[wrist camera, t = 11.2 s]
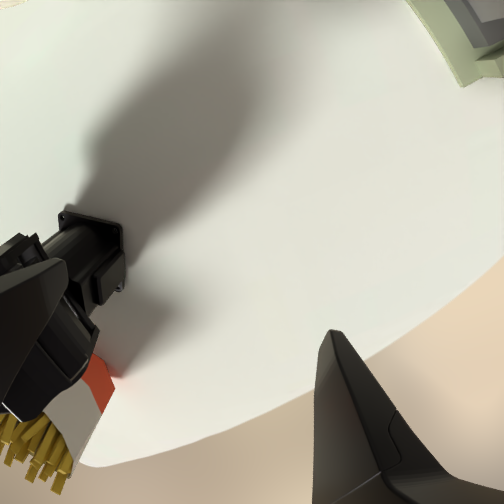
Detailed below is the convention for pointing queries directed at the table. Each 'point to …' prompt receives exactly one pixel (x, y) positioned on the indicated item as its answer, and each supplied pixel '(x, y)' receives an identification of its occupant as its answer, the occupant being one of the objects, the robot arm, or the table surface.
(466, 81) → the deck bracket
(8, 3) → the lidded jar
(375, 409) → the robot arm
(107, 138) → the table surface
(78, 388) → the french fries container
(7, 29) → the table surface
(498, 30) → the grey pillar on base
